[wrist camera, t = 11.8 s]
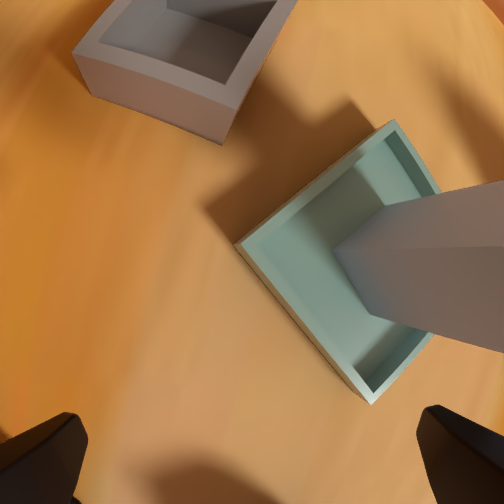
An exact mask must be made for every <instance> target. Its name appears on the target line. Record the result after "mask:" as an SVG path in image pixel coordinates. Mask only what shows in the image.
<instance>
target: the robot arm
mask: <svg viewBox="0 0 504 504" xmlns="http://www.w3.org/2000/svg"><path fill="white" fill-rule="evenodd" d="M416 436H417V441H418V444H419V447H420V451H421V454H422V458H423V462H424V465H425V469H426V473H427V476H428V480H429V483H430V486H431V488H432V491H433V493H434V496H435V498H436V501H437V504H504V436H502V435H500V434H498V433H496V432H494V431H492V430H489V429H487V428H485V427H483V426H481V425H479V424H477V423H475V422H473V421H471V420H469V419H467V418H465V417H463V416H461V415H459V414H457V413H455V412H453V411H451V410H449V409H447V408H445V407H443V406H441V405H433V406H429V407H426V408H425V409H424V410H423V412H422V415H421V418H420V421H419V424H418V427H417V431H416ZM87 445H88V436H87V433H86V431H85V428H84V426H83V424H82V422H81V419H80V417H79V416H78V415H77V414H74V413H69V412H63V413H61V414H59V415H57V416H55V417H53V418H51V419H49V420H47V421H45V422H43V423H41V424H39V425H37V426H35V427H33V428H31V429H29V430H27V431H25V432H23V433H21V434H19V435H17V436H15V437H13V438H11V439H9V440H7V441H5V442H3V443H0V504H80V503H79V502H78V501H76V500H75V499H74V498H72V496H73V494H74V491H75V488H76V485H77V482H78V478H79V474H80V471H81V467H82V463H83V459H84V456H85V452H86V448H87Z"/></svg>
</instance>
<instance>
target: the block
mask: <svg viewBox="0 0 504 504" xmlns="http://www.w3.org/2000/svg"><path fill="white" fill-rule="evenodd" d="M331 251H332V252H333V254H334V256H335V257H336V259H337V260H338V262H339V264H340V265H341V267H342V269H343V270H344V272H345V273H346V275H347V277H348V278H349V280H350V282H351V283H352V285H353V287H354V288H355V290H356V292H357V293H358V295H359V297H360V298H361V300H362V302H363V303H364V305H365V307H366V308H367V310H368V312H369V314H370V315H372V316H376V317H379V318H382V319H386V320H389V321H392V322H396V323H399V324H403V325H406V326H409V327H413V328H416V329H420V330H423V331H426V332H430V333H433V334H437V335H440V336H444V337H447V338H451V339H454V340H458V341H461V342H465V343H469V344H472V345H476V346H479V347H483V348H487V349H490V350H494V351H498V352H501V353H504V180H501V181H496V182H491V183H487V184H482V185H477V186H473V187H468V188H463V189H458V190H454V191H449V192H445V193H440V194H435V195H431V196H426V197H422V198H417V199H413V200H408V201H404V202H399V203H395V204H390V205H386V206H384V207H383V208H382V209H381V210H379V211H378V212H377V213H376V214H375V215H373V216H372V217H371V218H370V219H369V220H367V221H366V222H365V223H364V224H363V225H361V226H360V227H359V228H358V229H357V230H355V231H354V232H353V233H352V234H351V235H349V236H348V237H347V238H346V239H344V240H343V241H342V242H341V243H340V244H338V245H337V246H336V247H335V248H333V249H332V250H331Z"/></svg>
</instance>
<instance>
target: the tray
mask: <svg viewBox="0 0 504 504" xmlns="http://www.w3.org/2000/svg"><path fill="white" fill-rule="evenodd" d="M440 193H442V192H441V191H440V189H439V187H438V185H437V184H436V182H435V180H434V179H433V177H432V175H431V174H430V172H429V170H428V169H427V167H426V165H425V164H424V162H423V161H422V159H421V157H420V156H419V154H418V153H417V151H416V150H415V148H414V147H413V145H412V144H411V142H410V141H409V139H408V138H407V136H406V135H405V133H404V132H403V130H402V129H401V128H400V126H399V125H398V123H397V122H396V120H395V119H393V120H391V121H389V122H388V123H386V124H384V125H383V126H381V127H379V128H378V129H376V130H375V131H373V132H372V133H371V134H370V135H368V136H367V137H366V138H364V139H363V140H362V141H361V142H359V143H358V144H357V145H356V146H354V147H353V148H352V149H351V150H349V151H348V152H347V153H346V154H344V155H343V156H342V157H341V158H339V159H338V160H337V161H336V162H334V163H333V164H332V165H331V166H329V167H328V168H327V169H326V170H324V171H323V172H322V173H321V174H319V175H318V176H317V177H316V178H314V179H313V180H312V181H311V182H309V183H308V184H307V185H306V186H304V187H303V188H302V189H301V190H299V191H298V192H297V193H296V194H295V195H293V196H292V197H291V198H290V199H288V200H287V201H286V202H285V203H283V204H282V205H281V206H280V207H279V208H277V209H276V210H275V211H274V212H272V213H271V214H270V215H269V216H268V217H266V218H265V219H264V220H263V221H261V222H260V223H259V224H258V225H257V226H255V227H254V228H253V229H252V230H250V231H249V232H248V233H247V234H246V235H244V236H243V237H242V238H241V239H240V240H238V241H237V242H236V243H235V244H234V245H233V246H234V247H235V248H236V250H237V251H238V252H239V253H240V255H241V256H242V257H243V258H244V259H245V261H246V262H247V263H248V264H249V266H250V267H251V268H252V269H253V271H254V272H255V273H256V274H257V275H258V277H259V278H260V279H261V280H262V282H263V283H264V284H265V285H266V287H267V288H268V289H269V290H270V291H271V293H272V294H273V295H274V296H275V298H276V299H277V300H278V301H279V303H280V304H281V305H282V306H283V307H284V309H285V310H286V311H287V312H288V314H289V315H290V316H291V317H292V318H293V320H294V321H295V322H296V323H297V325H298V326H299V327H300V328H301V329H302V331H303V332H304V333H305V334H306V335H307V337H308V338H309V339H310V340H311V342H312V343H313V344H314V345H315V346H316V348H317V349H318V350H319V351H320V352H321V354H322V355H323V356H324V357H325V359H326V360H327V361H328V362H329V363H330V365H331V366H332V367H333V368H334V369H335V371H336V372H337V373H338V374H339V375H340V377H341V378H342V379H343V380H344V381H345V383H346V384H347V385H348V386H349V387H350V389H351V390H352V391H353V392H354V393H355V394H356V395H358V396H359V397H360V398H362V399H363V400H365V401H366V402H367V403H369V404H370V405H371V404H372V403H373V402H374V401H375V400H376V399H377V398H378V397H379V396H380V395H381V394H382V393H383V392H384V391H385V390H386V389H387V388H388V387H389V386H390V385H391V384H392V383H393V382H394V381H395V380H396V379H397V377H398V376H399V375H400V374H401V373H402V372H403V371H404V370H405V369H406V368H407V366H408V365H409V364H410V363H411V362H412V361H413V360H414V358H415V357H416V356H417V355H418V354H419V353H420V351H421V350H422V349H423V348H424V347H425V345H426V344H427V343H428V342H429V340H430V339H431V338H432V337H433V335H434V334H433V333H430V332H426V331H423V330H420V329H416V328H413V327H409V326H406V325H403V324H399V323H396V322H392V321H389V320H386V319H382V318H379V317H376V316H372V315H370V314H369V312H368V310H367V308H366V307H365V305H364V303H363V302H362V300H361V298H360V297H359V295H358V293H357V292H356V290H355V288H354V287H353V285H352V283H351V282H350V280H349V278H348V277H347V275H346V273H345V272H344V270H343V269H342V267H341V265H340V264H339V262H338V260H337V259H336V257H335V256H334V254H333V252H332V251H331V250H332V249H333V248H335V247H336V246H337V245H338V244H340V243H341V242H342V241H343V240H344V239H346V238H347V237H348V236H349V235H351V234H352V233H353V232H354V231H355V230H357V229H358V228H359V227H360V226H361V225H363V224H364V223H365V222H366V221H367V220H369V219H370V218H371V217H372V216H373V215H375V214H376V213H377V212H378V211H379V210H381V209H382V208H383V207H384V206H386V205H390V204H395V203H399V202H404V201H408V200H413V199H417V198H422V197H426V196H431V195H435V194H440Z"/></svg>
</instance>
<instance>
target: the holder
mask: <svg viewBox="0 0 504 504" xmlns="http://www.w3.org/2000/svg"><path fill="white" fill-rule="evenodd" d="M297 2H298V0H114V2H113V3H112V4H111V5H110V6H109V7H108V8H107V9H106V10H105V11H104V13H103V14H102V15H101V16H100V17H99V18H98V20H97V21H96V22H95V23H94V24H93V26H92V27H91V28H90V29H89V30H88V32H87V33H86V34H85V35H84V37H83V38H82V39H81V41H80V42H79V43H78V44H77V46H76V47H75V48H74V50H73V51H72V52H71V54H72V56H73V58H74V60H75V62H76V64H77V66H78V69H79V71H80V73H81V75H82V77H83V79H84V81H85V83H86V85H87V87H88V89H89V91H90V93H91V95H92V96H95V97H98V98H101V99H104V100H107V101H109V102H112V103H115V104H118V105H121V106H124V107H126V108H129V109H132V110H135V111H137V112H140V113H143V114H145V115H148V116H151V117H153V118H156V119H158V120H161V121H163V122H166V123H169V124H171V125H174V126H176V127H179V128H181V129H183V130H186V131H188V132H191V133H193V134H196V135H198V136H200V137H203V138H205V139H207V140H210V141H212V142H214V143H217V144H219V145H221V146H222V144H223V142H224V140H225V138H226V136H227V134H228V132H229V130H230V128H231V126H232V124H233V122H234V120H235V118H236V116H237V114H238V112H239V110H240V108H241V106H242V104H243V102H244V100H245V98H246V96H247V94H248V92H249V91H250V89H251V87H252V85H253V83H254V81H255V79H256V77H257V75H258V74H259V72H260V70H261V68H262V66H263V64H264V62H265V61H266V59H267V57H268V55H269V53H270V52H271V50H272V48H273V46H274V44H275V43H276V41H277V39H278V37H279V35H280V33H281V31H282V29H283V27H284V26H285V24H286V22H287V20H288V18H289V16H290V14H291V13H292V11H293V9H294V7H295V5H296V4H297Z"/></svg>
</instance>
